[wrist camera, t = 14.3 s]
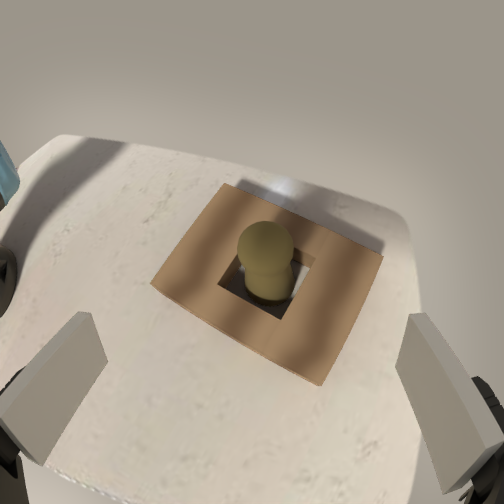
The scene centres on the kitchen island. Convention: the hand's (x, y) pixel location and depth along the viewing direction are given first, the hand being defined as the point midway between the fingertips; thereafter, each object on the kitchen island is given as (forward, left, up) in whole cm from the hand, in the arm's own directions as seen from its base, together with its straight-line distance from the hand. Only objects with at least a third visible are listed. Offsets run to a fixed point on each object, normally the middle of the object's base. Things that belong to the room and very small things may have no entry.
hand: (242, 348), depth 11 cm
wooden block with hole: (-5, +9, -22) cm, 25 cm away
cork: (-5, +9, -23) cm, 25 cm away
